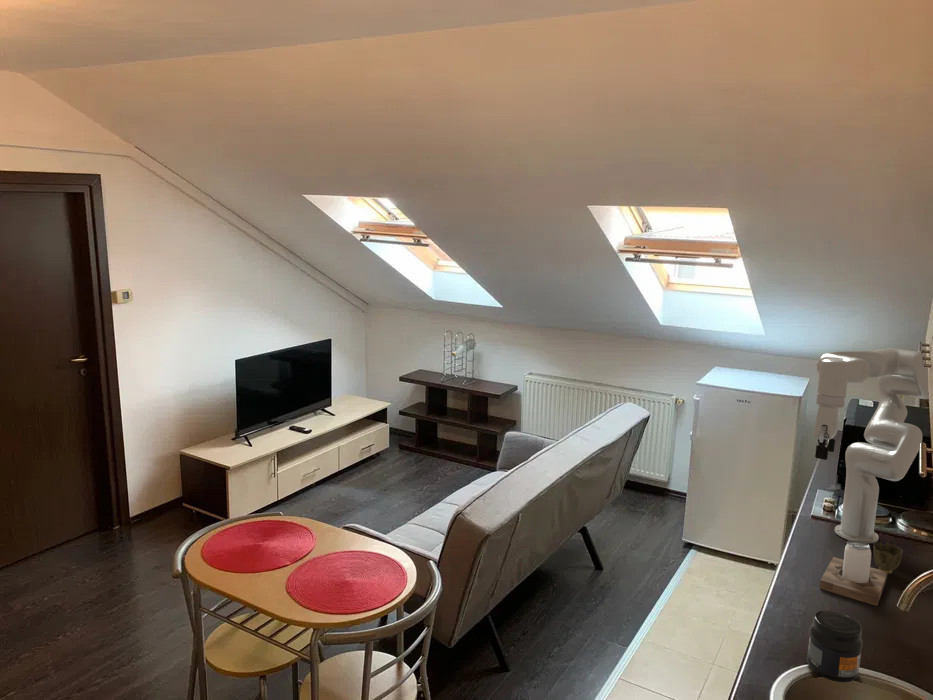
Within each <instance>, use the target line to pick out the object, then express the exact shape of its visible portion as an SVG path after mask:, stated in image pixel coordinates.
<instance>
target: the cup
mask: <svg viewBox="0 0 933 700" xmlns="http://www.w3.org/2000/svg"><path fill="white" fill-rule="evenodd" d="M872 544H873V545H872V546H873V561H874V563H875V565H876V566H877V569H878V570H882V571H886V572H888V573H887V576H888V575H892V574H893V570H896V569H897V568H899V565H900V564H901V561H902V559H903V554H904V550H903V548H901V546H898V547H897V545H896V544H894V543H893V544H892V543H891V544H890V542H886V543H885V544H883V543H882V541H879V542H878V541H877V542H875V543H872Z"/></svg>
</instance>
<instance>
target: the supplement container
mask: <svg viewBox="0 0 933 700" xmlns="http://www.w3.org/2000/svg"><path fill="white" fill-rule="evenodd" d="M862 632H863V627H862V625H861V623H860V622H859V621H858V620H857V619H855V618H853V617H852V616H850V615H848V614H846V613H843V612H840V611H836V610H825V609H824V610H819V611H816V612H815V613H814V615H813V620H812V624H811V625H810V627H809V639H808V645H807V646H808V647H807V648H808V649H807V654H806V662H807V664H808V666H809V668H810V669H811V670H812V671H813V672H815V674H817V675H819V676H820V677H822V678H824V679H827V680H829V681H833V682H837V683H850V682H853V681H855V680H856V679H858V677H859V674H860V664H861V657H862V649H863V646H864V642H863V639H862Z"/></svg>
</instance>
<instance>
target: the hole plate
mask: <svg viewBox="0 0 933 700" xmlns="http://www.w3.org/2000/svg"><path fill="white" fill-rule="evenodd" d="M843 563H844V559H842V558H837V557H834V556H833V557H832V559H831V561H829V564H828V566H827V568H826V570H824V571H825V572H824V573H823V575H822V577H821V578H820V580H819V581H820V582H819V589H821V590H824V591H827V592H829V593H830V592H831V593H833V594H835V595H836V594H837V595H838V596H839V595H840V596H842V597H846V598H849V599H852V600H856V601H859V602H863V603H865V604H869V605H873V606H876V607H877V606H878V605H879V601H880V599H881V596H882V594H883V591H884V588H885V586H886V582H887V579H888V575H887V573H888V572H886V571H882V570H878V568H874V567H871V566H870V573H869V583H856V582H853V581H850V580H846V579H845V578H843V577H842V575H843Z"/></svg>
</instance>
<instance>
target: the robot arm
mask: <svg viewBox="0 0 933 700" xmlns="http://www.w3.org/2000/svg"><path fill="white" fill-rule="evenodd" d="M921 353H922V352H920V351H915V350H908V349H900V348H894V347H889V348H880V349H874V350H857V351H856V350H855V351H854V350H853V351H849V350H848V351H847V350H846V351H845V350H844V351H832V352H831V351H830V352H826V353H824V354H823V355H821V356H820V358H819V359H818V361H817V363H816V371H817V372H818V374H819V375H818V384H817V393H816V401H815V403H816V405H818V409H817V413H816V417H815V418H816V419H815V425H814V432H813V436H814V437H815V438H817V437H818V438H817V441H816V446H815V447H816V448H815V455H814V457H815V459H819V460H820V459H821V460H824V461H827V460H828V458H829V457H828V456H829V452H830V453H834V452H835V446H836V436H837V434H838V430H839V429H838V428H839V423H840V413H841V408H845V406H846V405H845V404H846V396H847V388H848V384H849V383H852V384H858V383H859V384H860V383H863V382H864V381H866V380H868V379H869V378H870V379H871V378H873V379H875V378H877V388H878V399H879V400H878V405H877V408H876V409H875V412H874V413H873V415H872V416H871V418H870V420H869V421H868V423H867V425H866V428H865V430H864V433H863V437H864V439H865V441H866V442H860V441H857V442H853V443H851V444H850V445H848V446H847V448H846V450H845V453H844V454H845V455H844V458H845V467H846V470H845V471H846V473H845V475H846V476H845V484H844V485H845V487H844V493H843V494H844V495H843V503H842V511H841V521H840V524H838V525H836V526H834V532H835V534H837V536H839V537H841V538H843V539H844V540H846V541H852V540H855V541H861V542H864V543H866V544H875V542H877V543H878V541H879V535H878V533H876V532H875V523H876V517H877V508H878V500H879V493H880V486H879V483H878V480H877V478H881V479H884V480H888V481H891V482H898V481H900V480H902V479H903V478H904V477H905V476H906V474H907V473H908V471H909V469H910V467H911V465H912V464H913V462H914V461H915V459H916V457H917V454H918V453H919V450H920V448H921V447H920V443H922V442H923V432H922V429H920V427H919V426H917V425H915V424H911V423H906V422H905V421H906V418H907V416H908V409H907V407H906V405H905V402H904V401H903V399H902V397H901V396H904V397H905V396H906V397H910V398H917V399H921V400H928V399H930V398H929V392H928V367H924V365H923V364H922V355H921ZM921 365H922V366H921ZM922 444H923V443H922ZM876 477H877V478H876Z"/></svg>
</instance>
